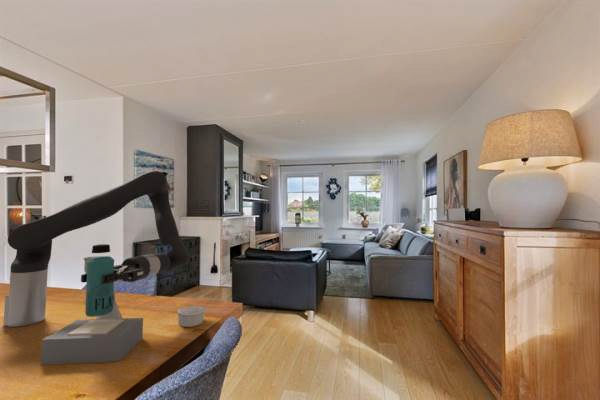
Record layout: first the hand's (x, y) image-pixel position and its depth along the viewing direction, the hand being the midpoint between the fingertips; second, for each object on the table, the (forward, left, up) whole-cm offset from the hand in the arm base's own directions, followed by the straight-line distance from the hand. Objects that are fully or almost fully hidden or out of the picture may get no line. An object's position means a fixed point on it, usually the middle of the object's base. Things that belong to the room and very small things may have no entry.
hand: (92, 279), depth 74 cm
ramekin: (+21, +20, -20) cm, 35 cm away
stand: (+1, +2, -19) cm, 20 cm away
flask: (-8, +25, -20) cm, 33 cm away
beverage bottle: (+1, +2, -11) cm, 11 cm away
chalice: (-27, +48, -20) cm, 59 cm away
